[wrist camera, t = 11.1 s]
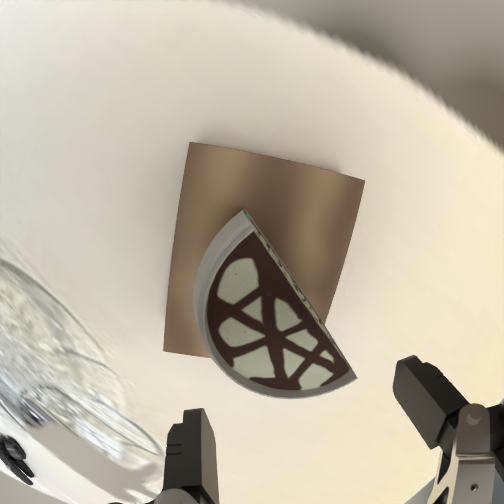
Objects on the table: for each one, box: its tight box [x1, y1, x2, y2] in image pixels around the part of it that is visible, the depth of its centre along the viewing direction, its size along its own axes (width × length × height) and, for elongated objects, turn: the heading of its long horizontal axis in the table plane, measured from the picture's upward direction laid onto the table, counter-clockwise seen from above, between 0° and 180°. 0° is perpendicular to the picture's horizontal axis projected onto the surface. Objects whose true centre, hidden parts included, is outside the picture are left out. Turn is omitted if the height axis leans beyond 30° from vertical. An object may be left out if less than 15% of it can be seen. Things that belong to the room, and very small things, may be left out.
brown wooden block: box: [163, 142, 365, 358], centre depth 27 cm, size 14×18×6 cm
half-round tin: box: [193, 208, 358, 399], centre depth 20 cm, size 12×6×10 cm, turn 34°
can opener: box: [0, 439, 34, 485], centre depth 36 cm, size 18×7×6 cm, turn 171°
